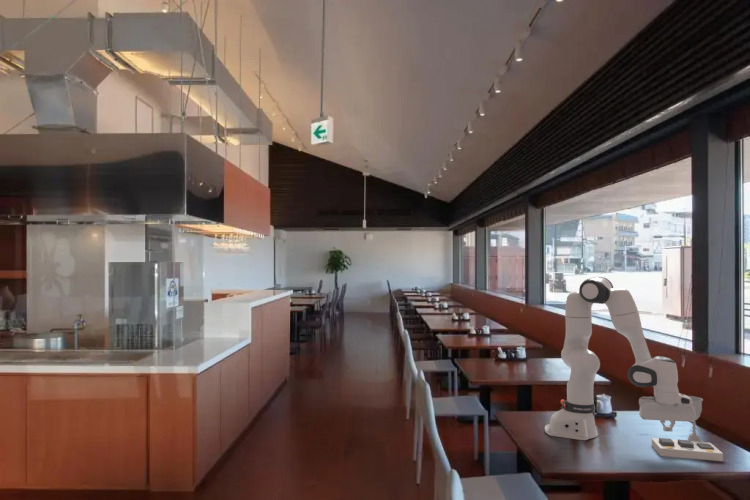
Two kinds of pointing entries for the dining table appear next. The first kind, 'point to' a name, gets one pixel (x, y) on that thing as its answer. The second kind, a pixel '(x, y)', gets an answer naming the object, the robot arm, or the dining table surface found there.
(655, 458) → the dining table surface
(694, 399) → the chalice
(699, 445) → the button right
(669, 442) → the button left
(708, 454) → the panel
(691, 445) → the button middle
